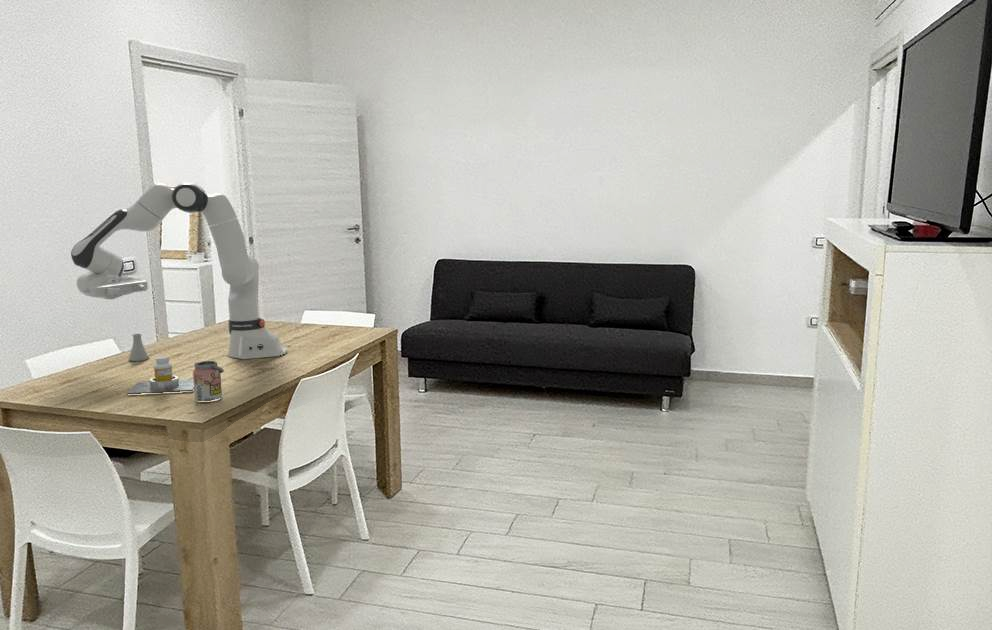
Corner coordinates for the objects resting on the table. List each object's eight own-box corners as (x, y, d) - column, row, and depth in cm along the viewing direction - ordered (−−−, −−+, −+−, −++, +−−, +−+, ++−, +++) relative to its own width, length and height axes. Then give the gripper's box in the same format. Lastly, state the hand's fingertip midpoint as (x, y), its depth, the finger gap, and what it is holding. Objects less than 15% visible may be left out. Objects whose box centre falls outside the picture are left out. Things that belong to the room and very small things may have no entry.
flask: (141, 362, 302) (139, 336, 300) (124, 361, 303) (122, 335, 302) (153, 357, 309) (151, 332, 307) (136, 357, 310) (134, 332, 309)
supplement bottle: (159, 383, 267) (156, 355, 265) (175, 383, 267) (173, 355, 265) (153, 388, 261) (151, 359, 260) (170, 387, 262) (167, 358, 260)
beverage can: (210, 394, 257) (207, 358, 255) (230, 397, 254) (228, 360, 251) (189, 402, 248) (186, 365, 246) (210, 405, 245) (207, 367, 243)
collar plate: (199, 381, 273) (199, 371, 272) (192, 392, 259) (191, 382, 259) (138, 384, 269) (137, 374, 269) (127, 396, 256) (126, 385, 255)
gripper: (80, 282, 280) (102, 284, 273) (133, 275, 297) (155, 278, 289) (81, 299, 281) (104, 302, 274) (135, 292, 298) (157, 295, 291)
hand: (131, 290), depth 282 cm, fingers open, 8 cm apart
